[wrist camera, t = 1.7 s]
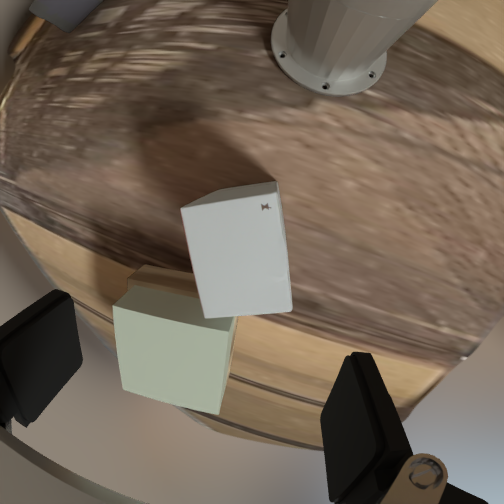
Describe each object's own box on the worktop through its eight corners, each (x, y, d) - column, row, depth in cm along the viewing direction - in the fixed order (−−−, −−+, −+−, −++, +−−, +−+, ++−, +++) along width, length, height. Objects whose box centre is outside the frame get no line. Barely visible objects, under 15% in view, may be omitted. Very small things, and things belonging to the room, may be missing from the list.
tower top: (134, 284, 29) (112, 305, 24) (236, 305, 28) (229, 331, 24) (139, 364, 32) (123, 389, 27) (225, 384, 32) (218, 414, 27)
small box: (217, 189, 30) (177, 205, 18) (277, 179, 29) (279, 188, 17) (230, 262, 32) (203, 321, 20) (288, 255, 31) (295, 312, 19)
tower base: (145, 263, 34) (127, 278, 29) (243, 281, 33) (238, 300, 28) (147, 343, 37) (132, 364, 32) (231, 362, 37) (226, 387, 32)
